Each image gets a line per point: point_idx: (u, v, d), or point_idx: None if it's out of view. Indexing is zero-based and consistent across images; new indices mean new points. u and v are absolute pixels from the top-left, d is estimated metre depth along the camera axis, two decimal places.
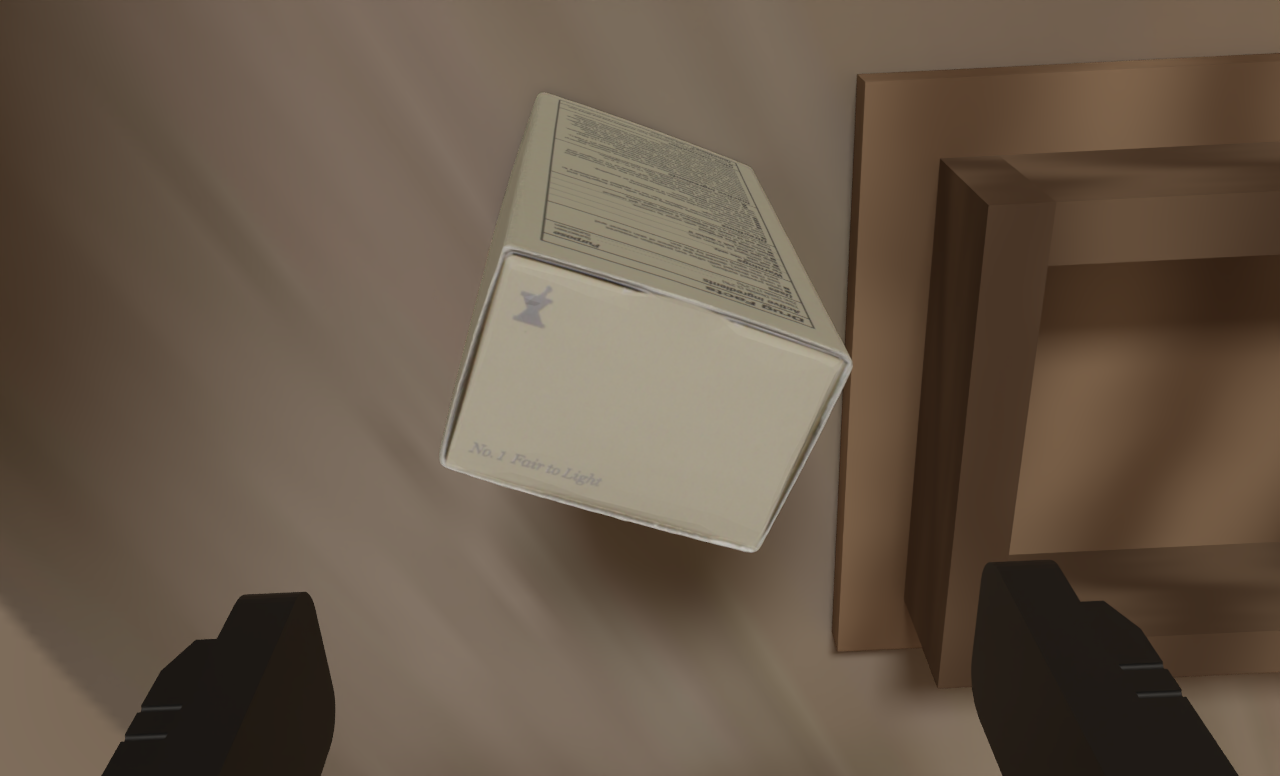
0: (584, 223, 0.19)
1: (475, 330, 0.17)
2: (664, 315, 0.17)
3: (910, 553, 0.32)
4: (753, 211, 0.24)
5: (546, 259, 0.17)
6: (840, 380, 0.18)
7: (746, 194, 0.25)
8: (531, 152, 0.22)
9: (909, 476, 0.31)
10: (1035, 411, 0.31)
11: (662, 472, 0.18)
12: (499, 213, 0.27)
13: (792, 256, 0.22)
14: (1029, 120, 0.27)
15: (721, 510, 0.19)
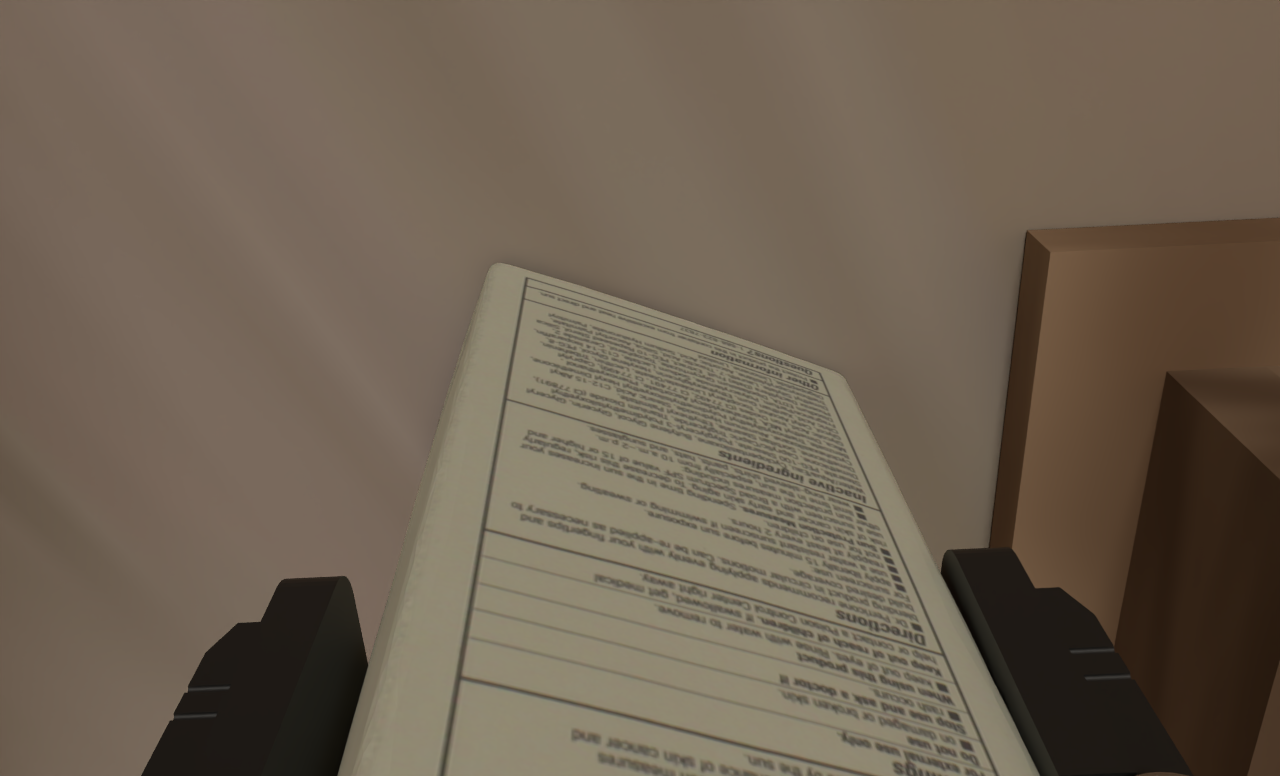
0: (544, 763, 0.08)
1: None
2: None
3: None
4: (877, 526, 0.13)
5: None
6: None
7: (854, 467, 0.14)
8: (450, 467, 0.11)
9: None
10: None
11: None
12: None
13: (981, 679, 0.11)
14: None
15: None
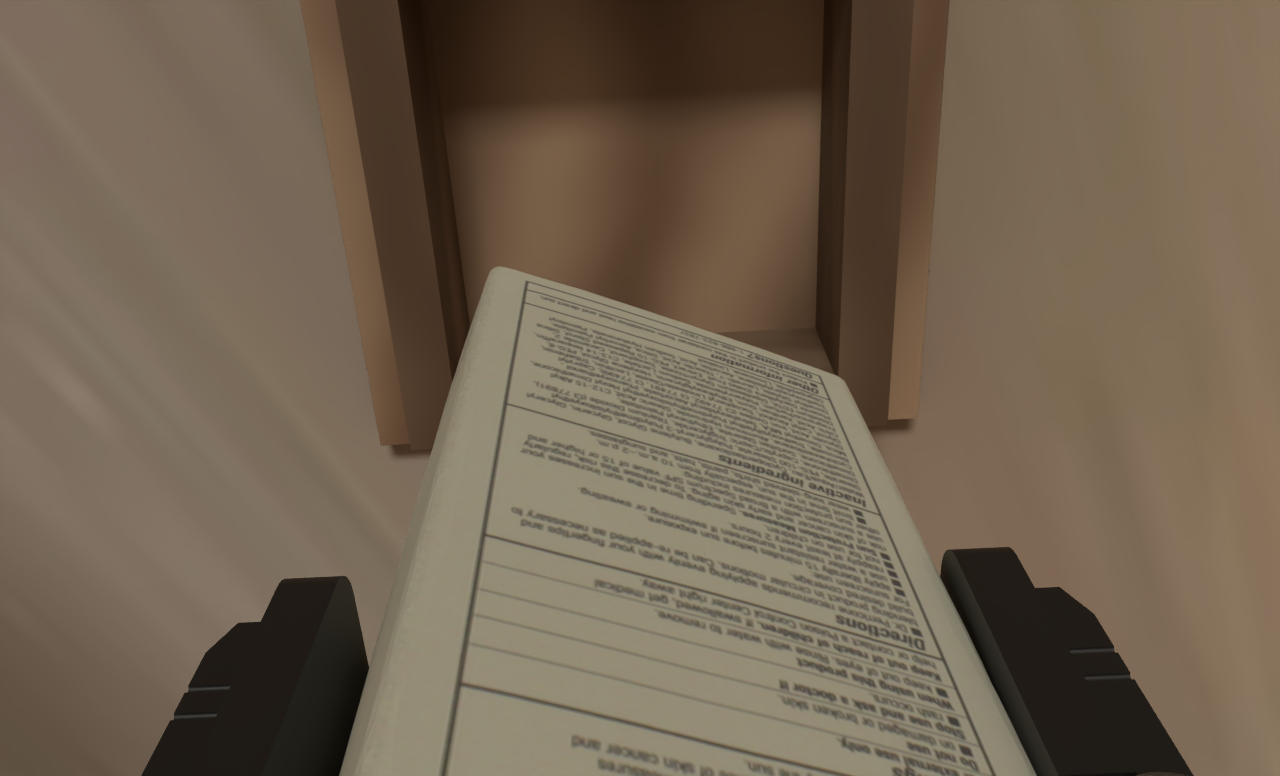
0: (544, 770, 0.08)
1: None
2: None
3: None
4: (877, 530, 0.13)
5: None
6: None
7: (854, 471, 0.14)
8: (450, 473, 0.11)
9: None
10: (513, 190, 0.32)
11: None
12: None
13: (980, 683, 0.11)
14: None
15: None
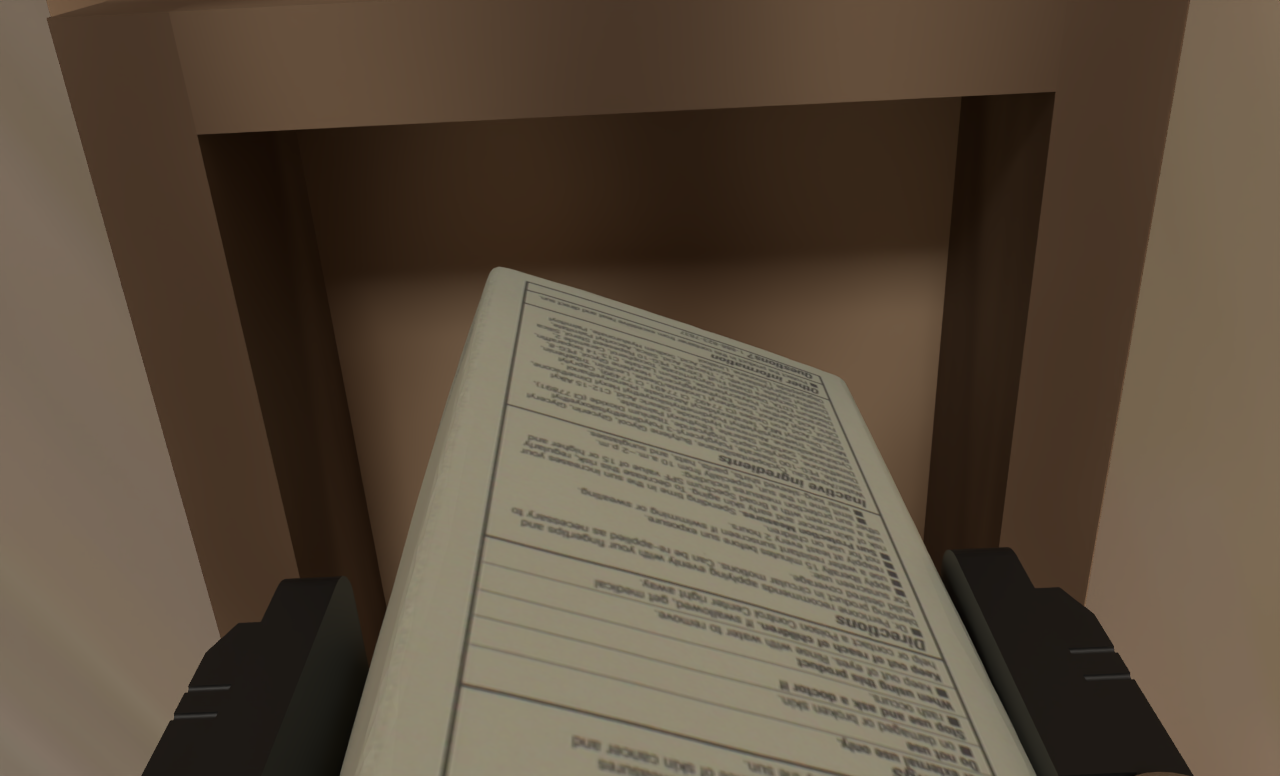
0: (544, 770, 0.08)
1: None
2: None
3: None
4: (877, 530, 0.13)
5: None
6: None
7: (854, 471, 0.14)
8: (450, 473, 0.11)
9: None
10: (445, 400, 0.20)
11: None
12: None
13: (980, 684, 0.11)
14: None
15: None
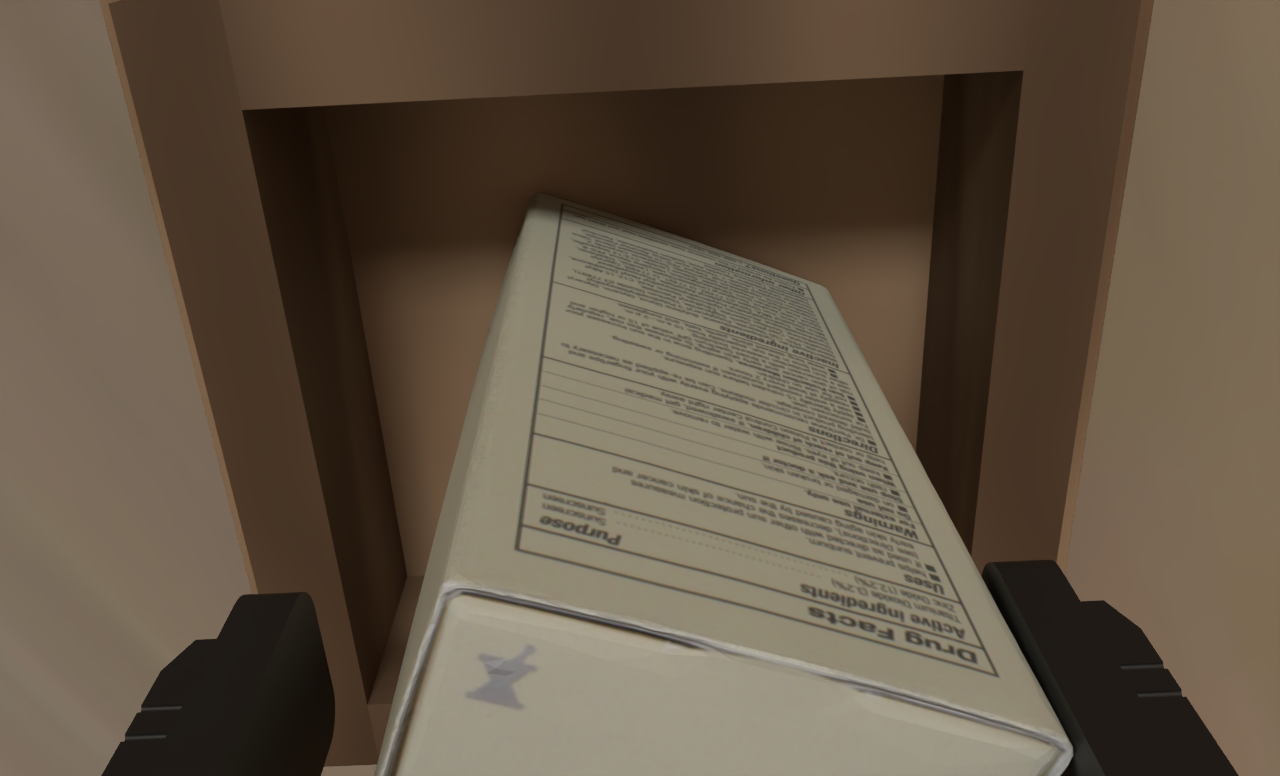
0: (594, 481, 0.11)
1: (399, 713, 0.10)
2: (741, 685, 0.09)
3: None
4: (846, 383, 0.16)
5: (525, 600, 0.09)
6: (1047, 774, 0.10)
7: (830, 346, 0.17)
8: (514, 319, 0.14)
9: None
10: (462, 367, 0.21)
11: None
12: (480, 361, 0.20)
13: (919, 476, 0.14)
14: None
15: None
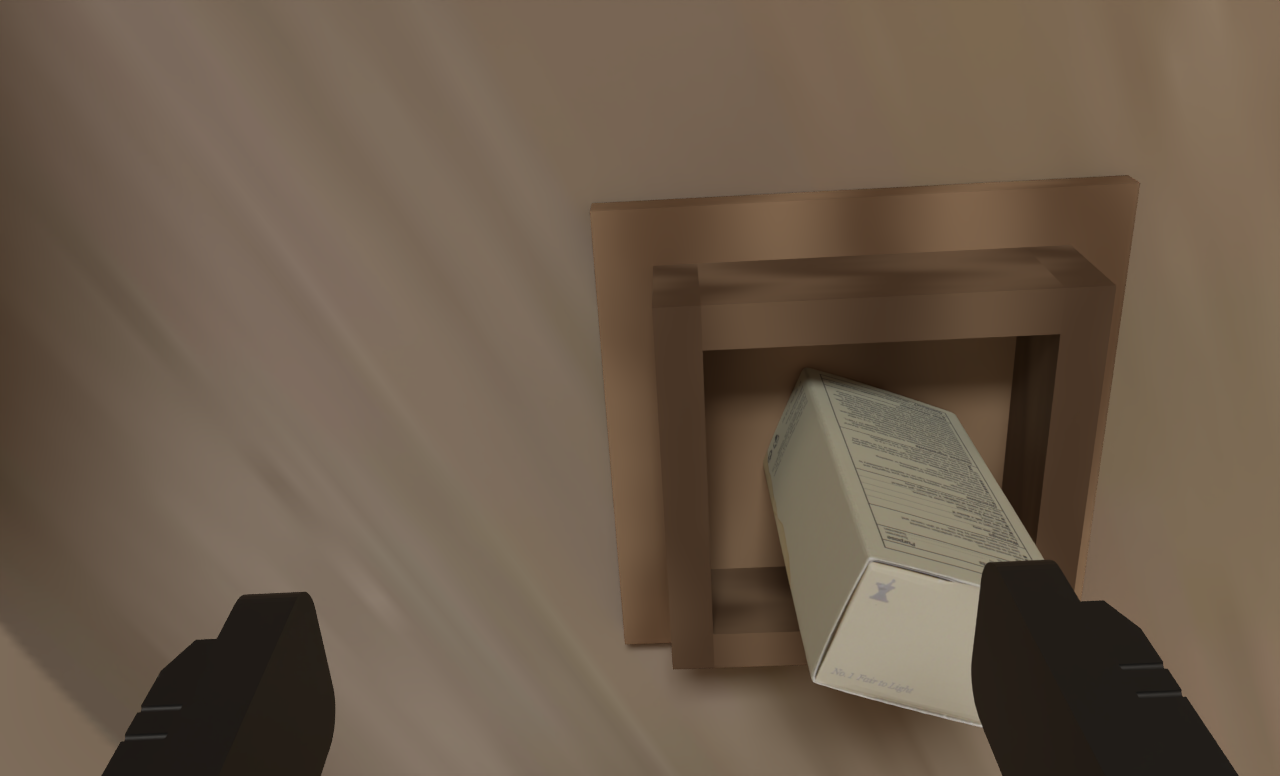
0: (897, 522, 0.29)
1: (844, 604, 0.28)
2: (964, 594, 0.27)
3: None
4: (977, 472, 0.34)
5: (894, 563, 0.27)
6: None
7: (965, 452, 0.35)
8: (836, 449, 0.32)
9: (662, 504, 0.40)
10: (754, 454, 0.39)
11: (953, 685, 0.29)
12: (776, 455, 0.38)
13: (1016, 518, 0.32)
14: (716, 238, 0.36)
15: None
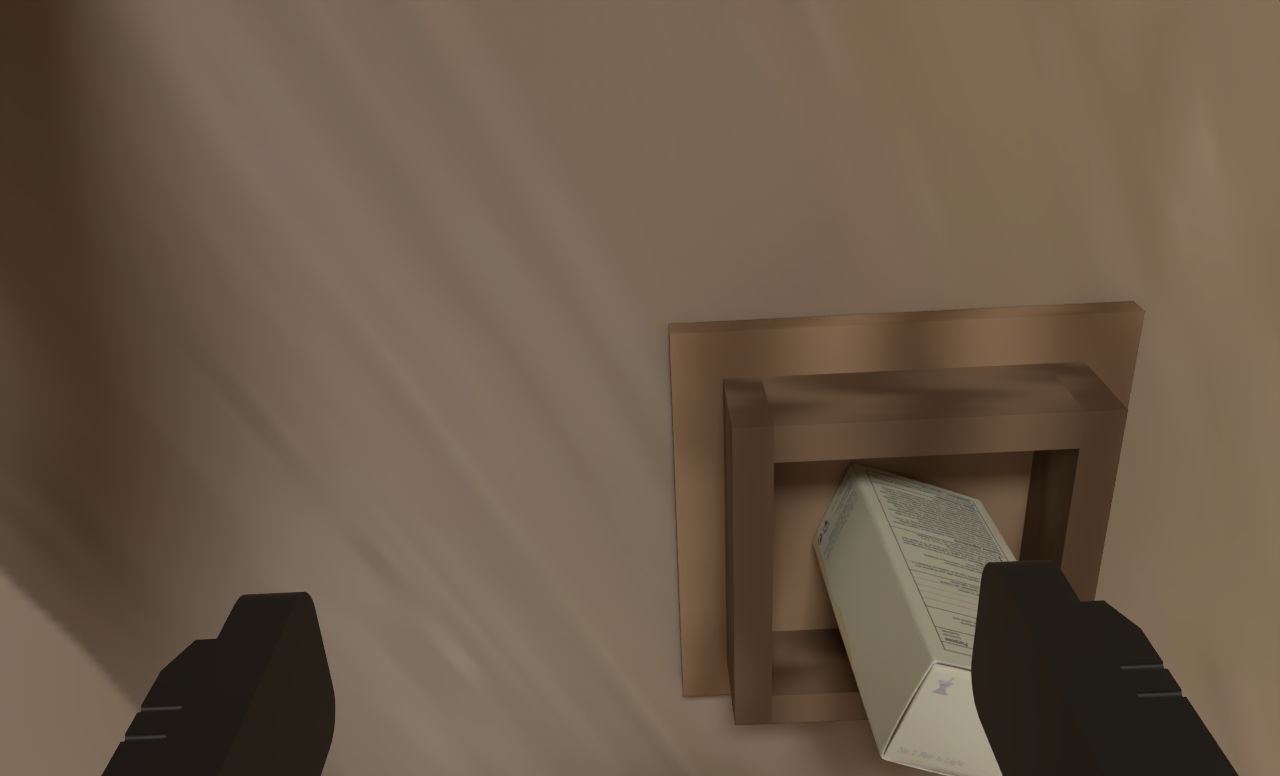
0: (951, 623, 0.35)
1: (911, 697, 0.33)
2: None
3: (726, 629, 0.47)
4: None
5: (953, 665, 0.33)
6: None
7: (994, 542, 0.41)
8: (891, 551, 0.38)
9: (722, 578, 0.46)
10: (804, 535, 0.45)
11: None
12: (827, 540, 0.43)
13: None
14: (779, 356, 0.41)
15: None
